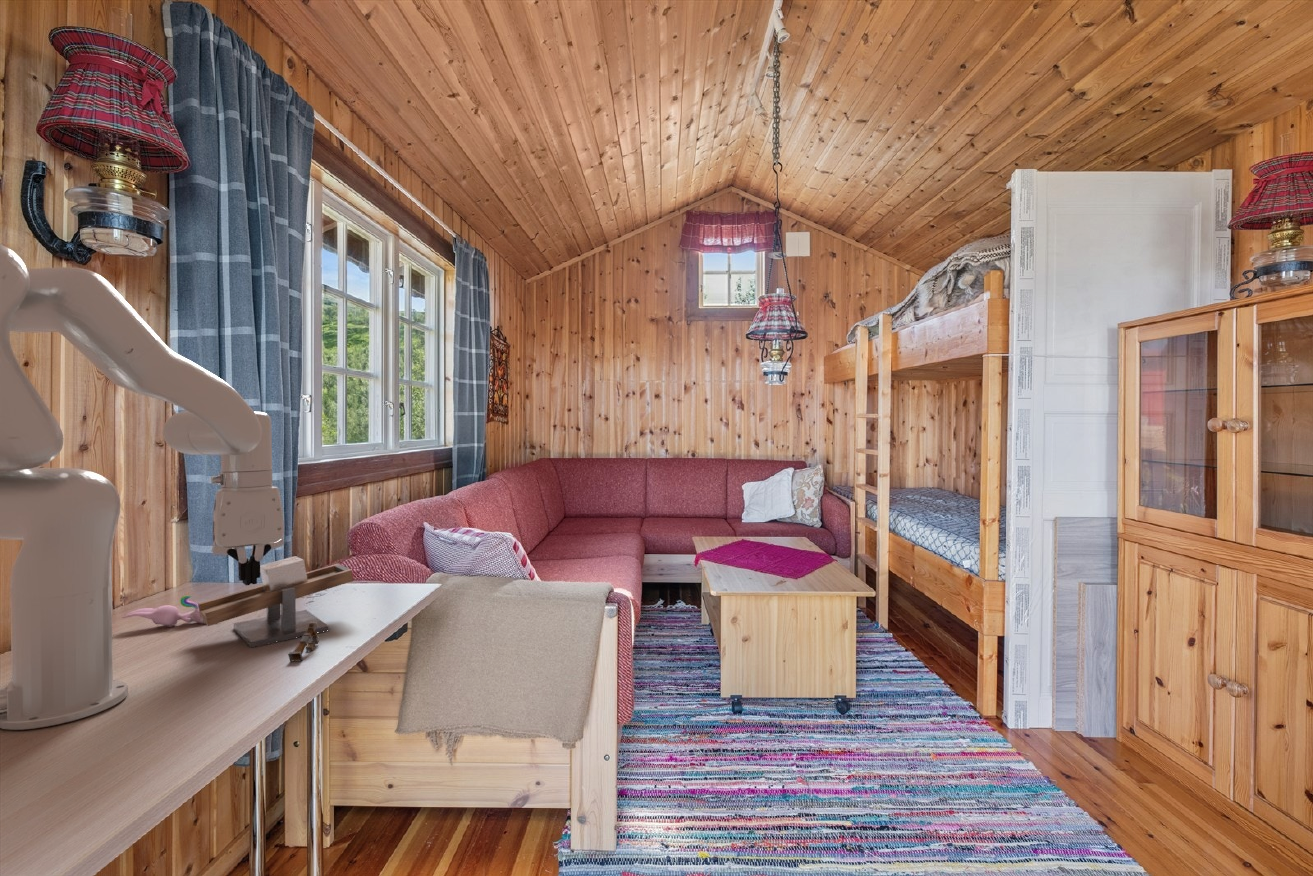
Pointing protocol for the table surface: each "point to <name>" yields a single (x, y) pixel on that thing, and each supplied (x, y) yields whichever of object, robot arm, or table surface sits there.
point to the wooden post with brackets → (305, 642)
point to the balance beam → (271, 595)
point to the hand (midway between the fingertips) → (249, 583)
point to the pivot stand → (278, 623)
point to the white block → (283, 574)
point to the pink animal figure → (169, 613)
